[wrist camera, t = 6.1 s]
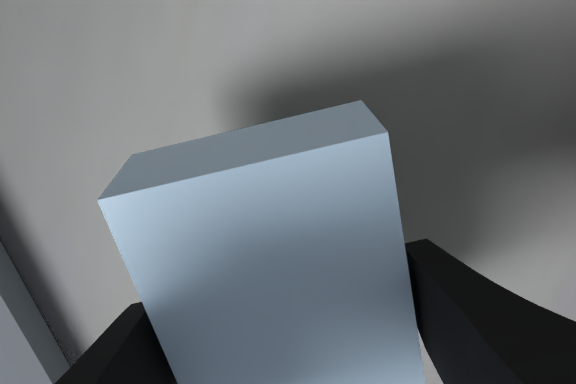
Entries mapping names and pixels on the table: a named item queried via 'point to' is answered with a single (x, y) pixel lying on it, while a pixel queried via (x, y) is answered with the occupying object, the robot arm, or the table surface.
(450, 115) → the table surface
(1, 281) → the mat
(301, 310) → the block
